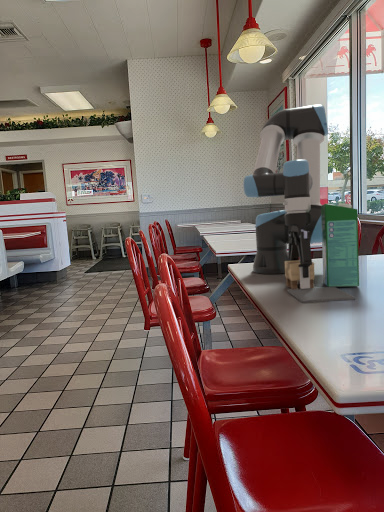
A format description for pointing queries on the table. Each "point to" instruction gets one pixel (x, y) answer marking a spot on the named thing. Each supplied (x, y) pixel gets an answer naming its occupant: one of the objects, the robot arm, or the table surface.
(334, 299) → the mat
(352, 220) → the milk carton
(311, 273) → the footstool
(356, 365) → the table surface
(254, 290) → the table surface
